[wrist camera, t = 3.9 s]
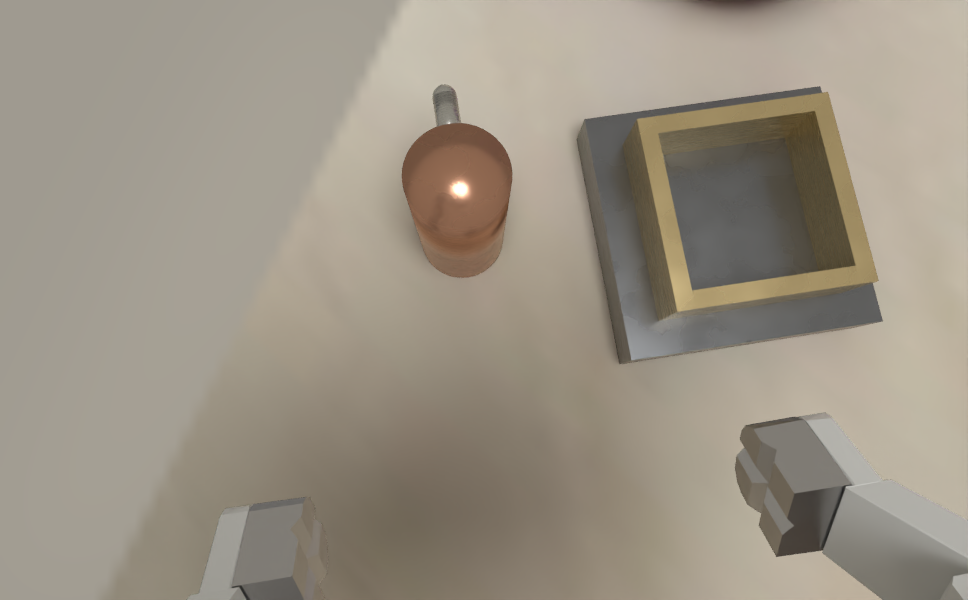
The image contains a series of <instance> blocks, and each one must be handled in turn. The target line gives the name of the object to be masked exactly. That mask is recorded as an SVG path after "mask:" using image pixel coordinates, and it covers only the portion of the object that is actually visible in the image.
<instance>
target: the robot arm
mask: <svg viewBox="0 0 968 600" xmlns="http://www.w3.org/2000/svg"><path fill="white" fill-rule="evenodd" d="M740 441H741V442H742V444H743V446H744V447H745V448H744V449H743V450H742V451H741V452H740V453H739V454H738V455H737V457H736V464H735V471H736V478H737V483H738V485H739V488H740V491H741V493H742V495H743V497H744V499H745V501H746V503H747V505H749V506H750V507H752V508H753V509H755V510H757V511H758V512H760V513H761V517H760V522H759V527H760V528H761V530H762V532H763V534H764V536H765V537H766V539H767V541H768V543H769V544H770V546H771V548H772V550H773V552H774V553H775V555H776V557H779V556H786V555H793V554H800V553H808V552H815V551H822V550H823V552H822V553H823V554H824V555H826V556H827V557H828V558H829V559H831V560H832V561H833V562H835V563H836V564H837V565H838V566H840V567H841V568H842V569H844V570H845V571H846V572H848V573H849V574H850V575H851V576H853V577H854V578H855V579H857V580H858V581H859V582H860V583H862V584H863V585H864V586H866V587H867V588H868V589H870V590H871V591H872V592H873V593H875V594H876V595H877V596H879V597H880V598H881V599H882V600H968V520H967V519H965V518H963V517H961V516H959V515H957V514H955V513H953V512H952V511H950V510H948V509H946V508H944V507H942V506H940V505H938V504H936V503H935V502H933V501H931V500H929V499H927V498H925V497H923V496H921V495H920V494H918V493H916V492H914V491H912V490H910V489H908V488H906V487H904V486H903V485H901V484H899V483H897V482H895V481H893V480H891V479H890V480H882V479H881V477H880V476H879V475H878V474H877V472H876V471H875V470H874V469H873V467H872V466H871V465H870V464H869V462H868V461H867V460H866V459H865V457H864V456H863V455H862V454H861V452H860V451H859V450H858V449H857V448H856V446H855V445H854V444H853V443H852V441H851V440H850V439H849V438H848V436H847V435H846V434H845V433H844V431H843V430H842V429H841V428H840V426H839V425H838V424H837V423H836V421H835V420H834V419H833V418H832V416H830V415H829V414H827V413H818V414H812V415H806V416H800V417H790V418H785V419H779V420H773V421H768V422H762V423H756V424H750V425H746V426H745V427H744V428H743V429H742V431H741V436H740ZM314 516H315V506H314V504H313V502H312V500H311V498H310V497H303V498H295V499H288V500H281V501H273V502H266V503H258V504H252V505H245V506H238V507H232V508H225V510H224V511H223V513H222V514H221V516H220V517H219V521H218V525H217V528H216V532H215V536H214V539H213V543H212V547H211V550H210V554H209V557H208V561H207V565H206V568H205V572H204V576H203V579H202V583H201V587H200V590H199V593H198V594H193V595H190V596H189V597H188V598H187V599H186V600H325V597H324V595H323V592H322V590H321V588H320V586H319V584H320V583H321V582H322V580H323V579H324V577H325V576H326V575H327V568H328V545H327V539H326V534H325V530H324V528H323V525H322V523H321V522H319V521H317V520H315V519H314Z"/></svg>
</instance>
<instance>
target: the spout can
mask: <svg viewBox="0 0 968 600" xmlns="http://www.w3.org/2000/svg"><path fill="white" fill-rule="evenodd" d="M433 104H434V111H435V118H436V124H437V127H435V128H433V129H431V130H429V131H427V132H426V133H424V134H423V135H422V136H421V137H419V138H418V139H417V140H416V141H415V142H414V144H413V145H412V146H411V148H410V149H409V151H408V153H407V155H406V157H405V160H404V163H403V168H402V183H403V188H404V192H405V195H406V198H407V201H408V204H409V207H410V210H411V213H412V216H413V219H414V222H415V225H416V228H417V231H418V234H419V237H420V240H421V243H422V246H423V249H424V252H425V255H426V257H427V258H428V260H429V261H430V263H431V264H432V265H433V266H434V267H435V268H436V269H438V270H439V271H441V272H442V273H444V274H447V275H449V276H453V277H461V278H464V277H471V276H475V275H478V274H480V273H482V272H484V271H485V270H487V269H488V268H489V267H490V266H491V265H492V264H493V263H494V262H495V261H496V259H497V258H498V256H499V253H500V251H501V248H502V242H503V236H504V229H505V223H506V216H507V210H508V203H509V197H510V191H511V184H512V167H511V163H510V159H509V157H508V154H507V152H506V150H505V149H504V147H503V146H502V144H501V143H500V142H499V141H498V140H497V139H496V138H495V137H494V136H493V135H491V134H490V133H489V132H487V131H485V130H484V129H481V128H479V127H477V126H473V125H470V124H464V123H461V120H460V113H459V107H458V101H457V95H456V92H455V90H454V89H453V88H452V87H451V86H449V85H440V86H438V87H437V88H436V89H435V90H434V92H433Z"/></svg>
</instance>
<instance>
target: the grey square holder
mask: <svg viewBox="0 0 968 600" xmlns="http://www.w3.org/2000/svg"><path fill="white" fill-rule="evenodd" d="M577 143H578V148H579V153H580V159H581V164H582V169H583V174H584V180H585V185H586V190H587V195H588V200H589V206H590V211H591V216H592V221H593V227H594V232H595V237H596V242H597V247H598V253H599V258H600V263H601V268H602V274H603V279H604V284H605V289H606V294H607V300H608V305H609V310H610V315H611V321H612V326H613V331H614V336H615V341H616V347H617V352H618V357H619V362H620V364H624V363H630V362H637V361H643V360H650V359H656V358H663V357H669V356H675V355H682V354H688V353H695V352H701V351H708V350H714V349H720V348H727V347H733V346H740V345H746V344H752V343H759V342H765V341H772V340H778V339H785V338H791V337H797V336H804V335H810V334H817V333H823V332H830V331H836V330H842V329H849V328H854V327H859V326H864V325H868V324H873V323H877V322H882V321H883V320H882V317H881V313H880V309H879V305H878V302H877V298H876V294H875V290H874V287H873V283H874V282H877V281H879V280H878V277H877V273H876V269H875V266H874V262H873V258H872V254H871V251H870V247H869V243H868V239H867V236H866V232H865V228H864V225H863V221H862V217H861V213H860V210H859V206H858V202H857V198H856V195H855V191H854V187H853V184H852V180H851V176H850V172H849V169H848V165H847V161H846V158H845V154H844V150H843V146H842V143H841V139H840V135H839V131H838V128H837V124H836V120H835V117H834V113H833V109H832V105H831V102H830V98H829V94H828V92H825V93H822V91H821V88H820V86H819V87H812V88H805V89H798V90H791V91H784V92H776V93H769V94H762V95H755V96H748V97H741V98H734V99H726V100H719V101H712V102H705V103H698V104H691V105H684V106H676V107H669V108H662V109H655V110H648V111H641V112H634V113H626V114H619V115H612V116H605V117H598V118H591V119H585V120H584V122H583V125H582V128H581V130H580V133H579V136H578V138H577Z"/></svg>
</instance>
